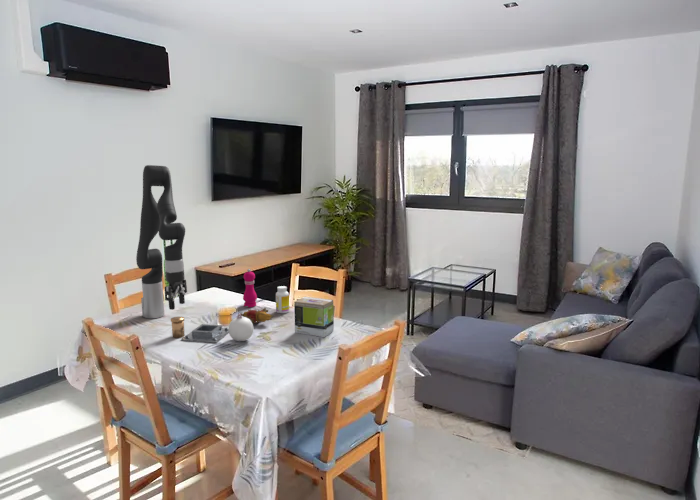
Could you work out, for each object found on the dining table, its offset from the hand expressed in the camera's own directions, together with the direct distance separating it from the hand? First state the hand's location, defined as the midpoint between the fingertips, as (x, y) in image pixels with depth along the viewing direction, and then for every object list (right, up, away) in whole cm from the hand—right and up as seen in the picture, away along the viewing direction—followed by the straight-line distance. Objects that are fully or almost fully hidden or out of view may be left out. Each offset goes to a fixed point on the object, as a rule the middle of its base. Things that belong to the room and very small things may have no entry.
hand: (177, 306), depth 214 cm
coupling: (+12, -13, +3) cm, 18 cm away
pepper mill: (+22, -5, +48) cm, 53 cm away
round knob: (0, -13, +2) cm, 13 cm away
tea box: (+59, -13, +8) cm, 61 cm away
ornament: (+28, -14, -2) cm, 32 cm away
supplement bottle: (+40, -7, +37) cm, 56 cm away
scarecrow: (+30, -10, +21) cm, 38 cm away
